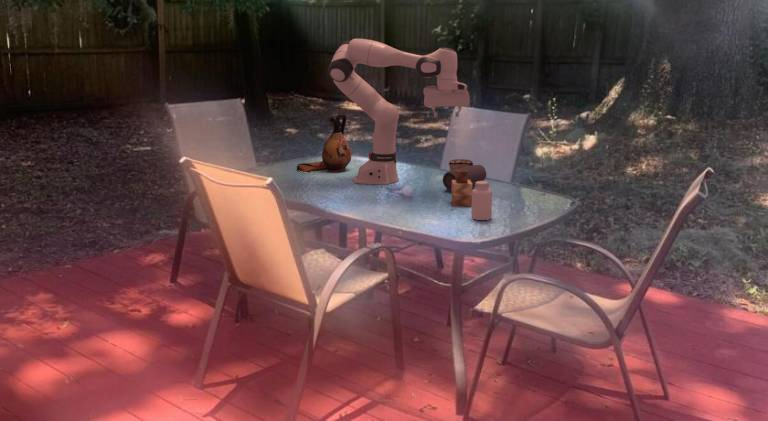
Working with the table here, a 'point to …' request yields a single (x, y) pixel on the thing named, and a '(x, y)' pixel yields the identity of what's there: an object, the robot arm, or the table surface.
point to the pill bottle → (481, 201)
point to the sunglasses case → (312, 166)
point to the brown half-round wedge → (459, 163)
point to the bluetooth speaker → (474, 175)
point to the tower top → (461, 188)
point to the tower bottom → (462, 201)
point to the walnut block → (462, 176)
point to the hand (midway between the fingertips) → (446, 116)
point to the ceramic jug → (336, 146)
